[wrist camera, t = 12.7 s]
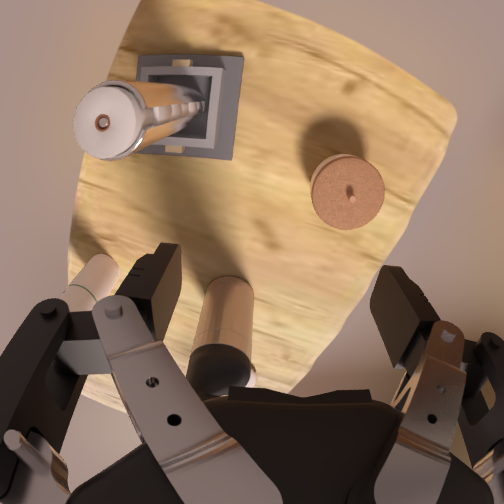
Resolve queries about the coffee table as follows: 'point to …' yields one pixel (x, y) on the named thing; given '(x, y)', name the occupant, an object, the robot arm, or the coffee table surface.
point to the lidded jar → (346, 191)
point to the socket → (215, 95)
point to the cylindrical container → (91, 283)
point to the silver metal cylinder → (133, 116)
